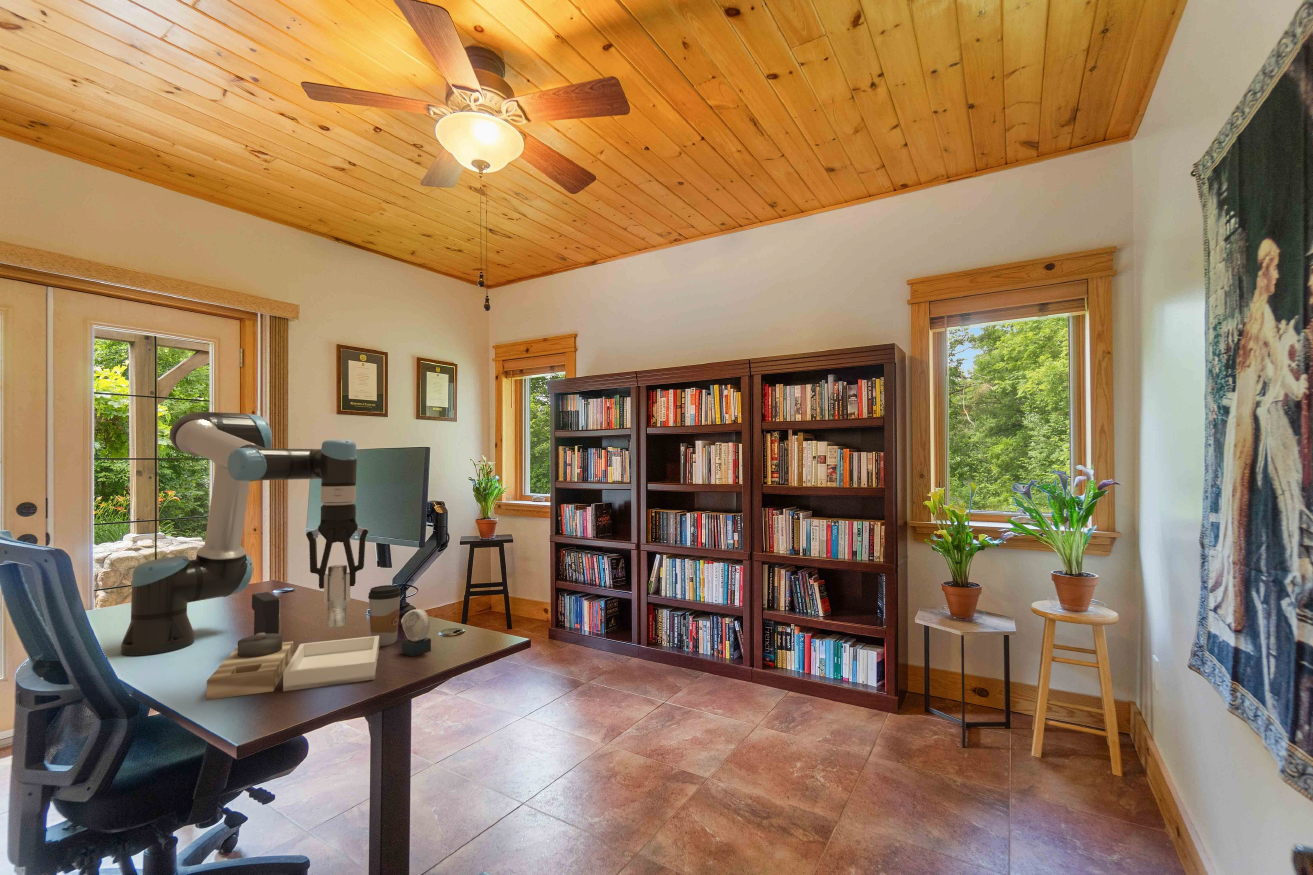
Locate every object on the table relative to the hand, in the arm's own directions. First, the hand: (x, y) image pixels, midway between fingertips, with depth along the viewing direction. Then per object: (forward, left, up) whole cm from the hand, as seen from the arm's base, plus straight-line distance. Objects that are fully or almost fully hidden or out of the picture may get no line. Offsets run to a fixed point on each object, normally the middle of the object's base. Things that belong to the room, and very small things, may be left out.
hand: (337, 600), depth 143 cm
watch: (-6, +18, -17) cm, 25 cm away
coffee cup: (-18, +10, -17) cm, 26 cm away
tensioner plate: (-2, -17, -16) cm, 24 cm away
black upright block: (-20, -18, -17) cm, 32 cm away
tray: (0, 0, -16) cm, 16 cm away
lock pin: (0, 0, -6) cm, 6 cm away
